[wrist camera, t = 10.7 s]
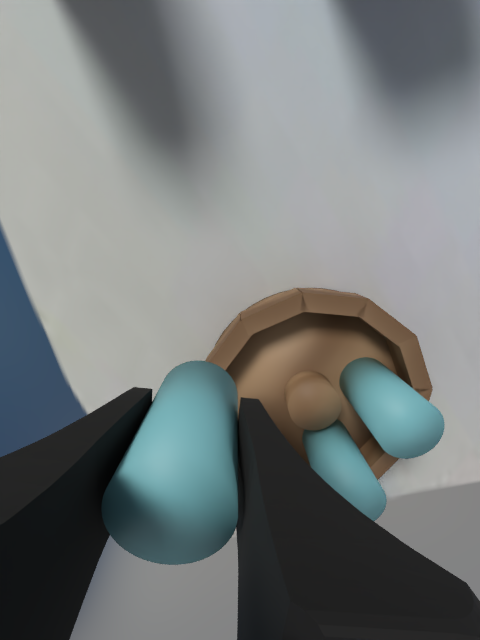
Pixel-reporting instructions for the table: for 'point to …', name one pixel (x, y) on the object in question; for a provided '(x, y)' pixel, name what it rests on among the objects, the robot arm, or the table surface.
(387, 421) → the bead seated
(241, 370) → the groove tray
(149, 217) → the table surface
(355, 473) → the teal tapered egg
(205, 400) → the teal egg
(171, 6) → the table surface
